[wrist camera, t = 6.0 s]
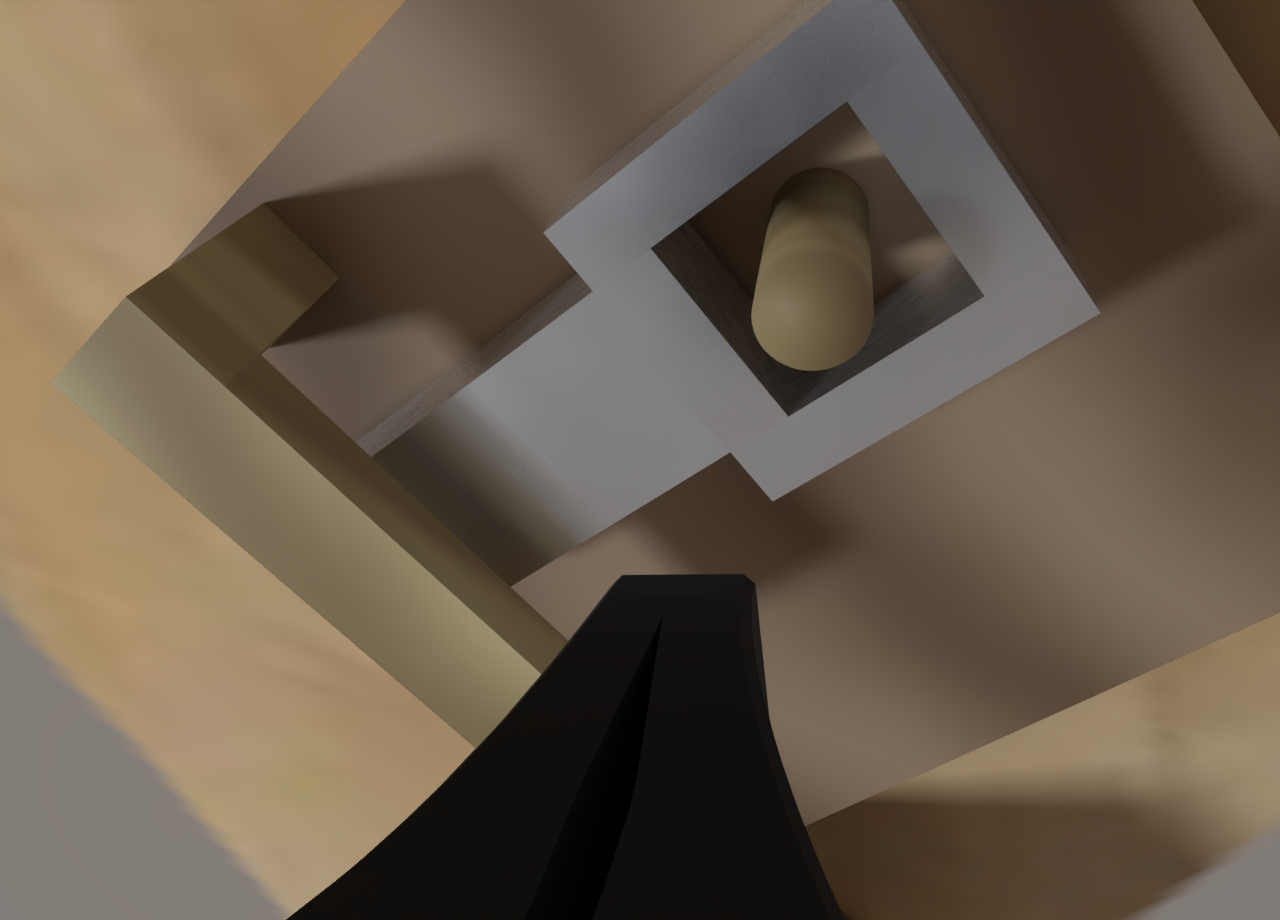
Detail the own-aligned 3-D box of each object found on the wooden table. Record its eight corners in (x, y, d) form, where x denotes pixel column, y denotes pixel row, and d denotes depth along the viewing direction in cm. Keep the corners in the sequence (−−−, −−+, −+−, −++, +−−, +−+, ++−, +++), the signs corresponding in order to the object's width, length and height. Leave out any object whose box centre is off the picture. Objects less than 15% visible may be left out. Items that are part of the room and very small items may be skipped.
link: (869, -53, 13) (871, -32, 12) (1072, 256, 15) (1100, 313, 13) (299, 411, 19) (245, 472, 17) (496, 605, 20) (463, 679, 18)
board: (862, -489, 12) (870, -641, 8) (1475, 464, 17) (1681, 681, 13) (189, 259, 19) (0, 390, 15) (765, 801, 24) (747, 1018, 19)
